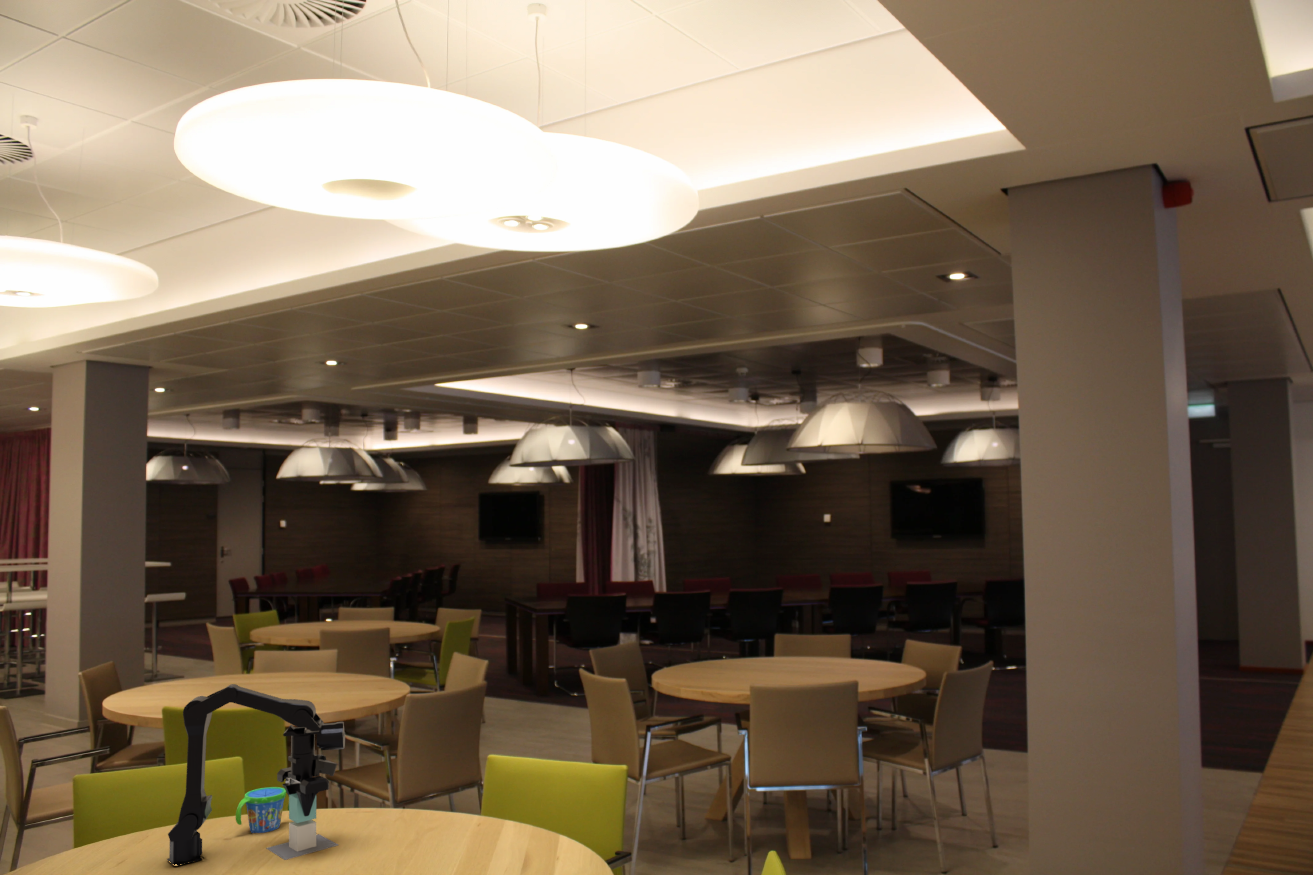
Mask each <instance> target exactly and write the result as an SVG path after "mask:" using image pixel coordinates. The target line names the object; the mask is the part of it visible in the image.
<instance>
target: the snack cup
mask: <svg viewBox="0 0 1313 875" xmlns="http://www.w3.org/2000/svg"><path fill="white" fill-rule="evenodd" d="M286 795H287V792H286V790H285V788H284V787H279V786H270V787H261V788H260V787H259V788H256V789H253V790H249V791H247V792H246V793H245V794H244V797H243V798H242V799H241V800H240V801H239V803H238V805H237V808H236V811H235V821H236V823H237V825H239V826H241V825H242V809H243V807H244V806H246V811H247V812H246V813H247V819H248V827H249V831H250V832H251V834H256V833H257V834H261V833H262V834H263V833H268V832H272V831H275V830H278V829H279V828H280V825H281V823H282V822H281V821H282V816H283V809H284V808H283V807H284V801H285V798H286ZM287 804H288V805H287V810H288V811H289V803H287Z"/></svg>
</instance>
